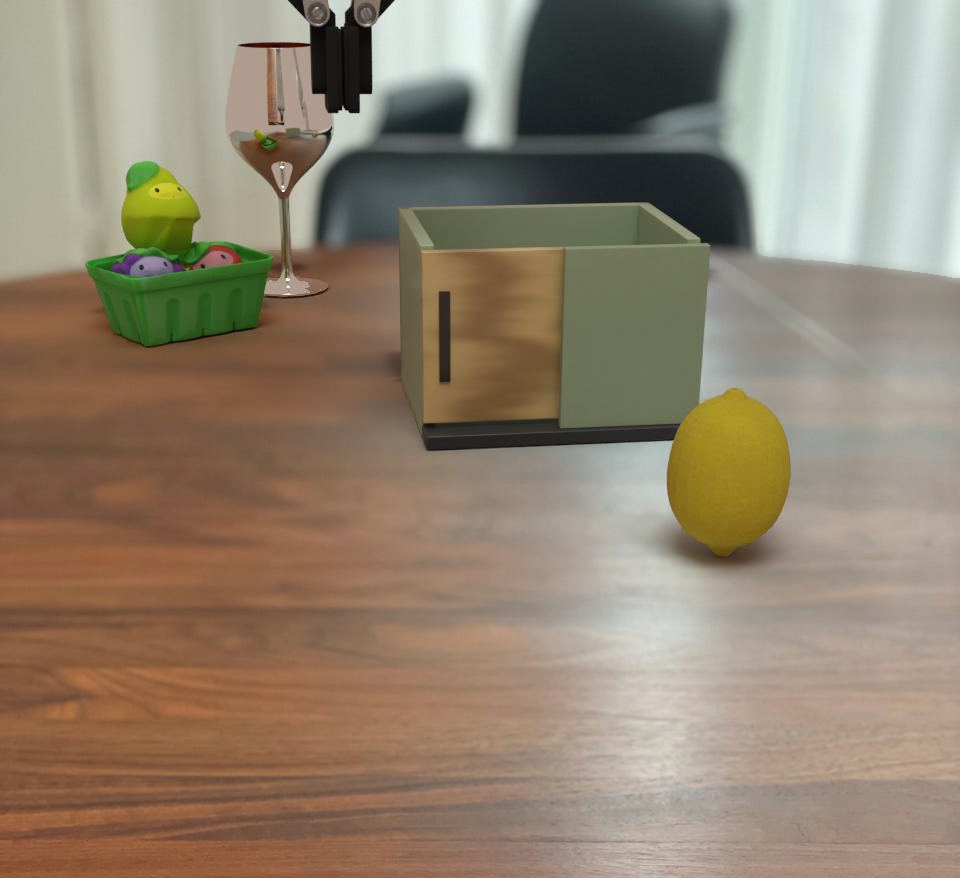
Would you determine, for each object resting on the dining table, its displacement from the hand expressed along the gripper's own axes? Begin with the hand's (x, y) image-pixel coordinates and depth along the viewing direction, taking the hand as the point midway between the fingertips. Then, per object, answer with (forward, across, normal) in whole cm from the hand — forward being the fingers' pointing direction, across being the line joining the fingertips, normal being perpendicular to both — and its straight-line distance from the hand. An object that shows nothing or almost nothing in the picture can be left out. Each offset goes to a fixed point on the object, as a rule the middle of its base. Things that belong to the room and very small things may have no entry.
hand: (342, 109), depth 76 cm
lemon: (+18, -16, +18) cm, 30 cm away
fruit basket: (+18, +10, -28) cm, 35 cm away
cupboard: (+18, -12, -6) cm, 22 cm away
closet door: (+17, -8, -1) cm, 19 cm away
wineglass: (+18, +2, -40) cm, 44 cm away
